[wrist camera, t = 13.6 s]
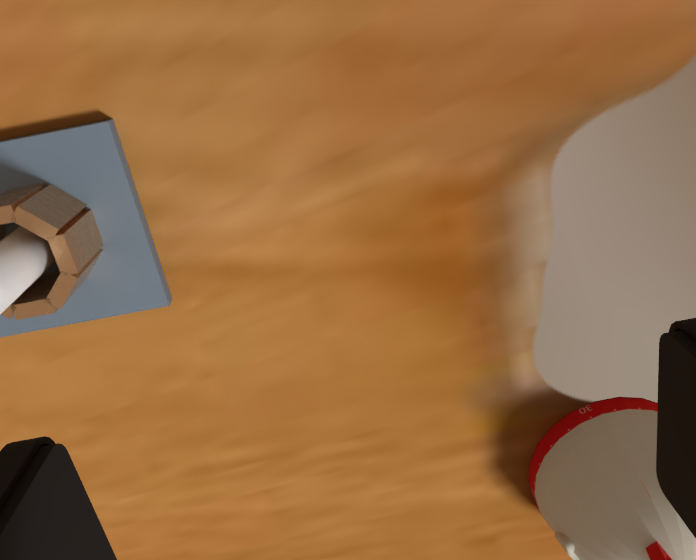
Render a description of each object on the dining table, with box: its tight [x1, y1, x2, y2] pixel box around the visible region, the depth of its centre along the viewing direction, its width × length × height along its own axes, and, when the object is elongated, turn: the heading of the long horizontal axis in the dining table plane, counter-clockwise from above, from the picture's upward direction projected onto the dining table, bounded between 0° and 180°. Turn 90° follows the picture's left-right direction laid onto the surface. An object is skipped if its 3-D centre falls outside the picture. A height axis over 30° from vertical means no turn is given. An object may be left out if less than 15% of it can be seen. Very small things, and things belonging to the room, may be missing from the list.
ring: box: [0, 183, 104, 320], centre depth 39 cm, size 7×7×5 cm
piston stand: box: [0, 119, 172, 337], centre depth 38 cm, size 13×13×10 cm
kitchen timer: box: [529, 397, 696, 560], centre depth 46 cm, size 14×14×15 cm
